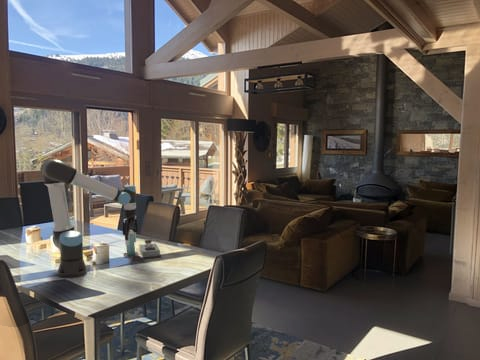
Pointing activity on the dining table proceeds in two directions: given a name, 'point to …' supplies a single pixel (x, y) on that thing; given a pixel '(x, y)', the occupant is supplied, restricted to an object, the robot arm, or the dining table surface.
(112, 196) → the robot arm
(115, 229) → the dining table surface
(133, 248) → the cartridge
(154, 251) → the housing
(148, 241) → the plunger
